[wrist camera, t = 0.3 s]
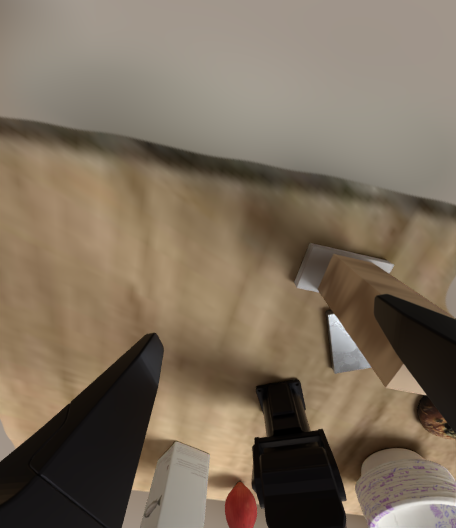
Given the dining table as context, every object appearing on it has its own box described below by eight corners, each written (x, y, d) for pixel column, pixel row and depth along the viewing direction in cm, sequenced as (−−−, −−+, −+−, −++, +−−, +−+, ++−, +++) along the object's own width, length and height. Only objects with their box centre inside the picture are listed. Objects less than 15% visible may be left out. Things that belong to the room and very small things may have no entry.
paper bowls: (338, 447, 38) (362, 513, 31) (432, 428, 36) (483, 495, 28) (353, 489, 44) (377, 553, 36) (436, 475, 41) (480, 541, 34)
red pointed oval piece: (260, 481, 43) (266, 545, 36) (241, 492, 45) (243, 555, 38) (238, 471, 42) (239, 535, 35) (219, 482, 44) (217, 546, 36)
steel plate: (408, 355, 30) (412, 360, 29) (332, 368, 31) (334, 373, 30) (412, 293, 26) (417, 297, 25) (325, 311, 27) (328, 315, 26)
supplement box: (175, 439, 38) (150, 556, 27) (211, 453, 40) (202, 570, 28) (156, 458, 41) (126, 573, 29) (191, 471, 42) (175, 585, 31)
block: (365, 298, 26) (479, 408, 14) (294, 282, 26) (348, 384, 13) (387, 260, 24) (540, 351, 12) (309, 242, 24) (390, 320, 12)
